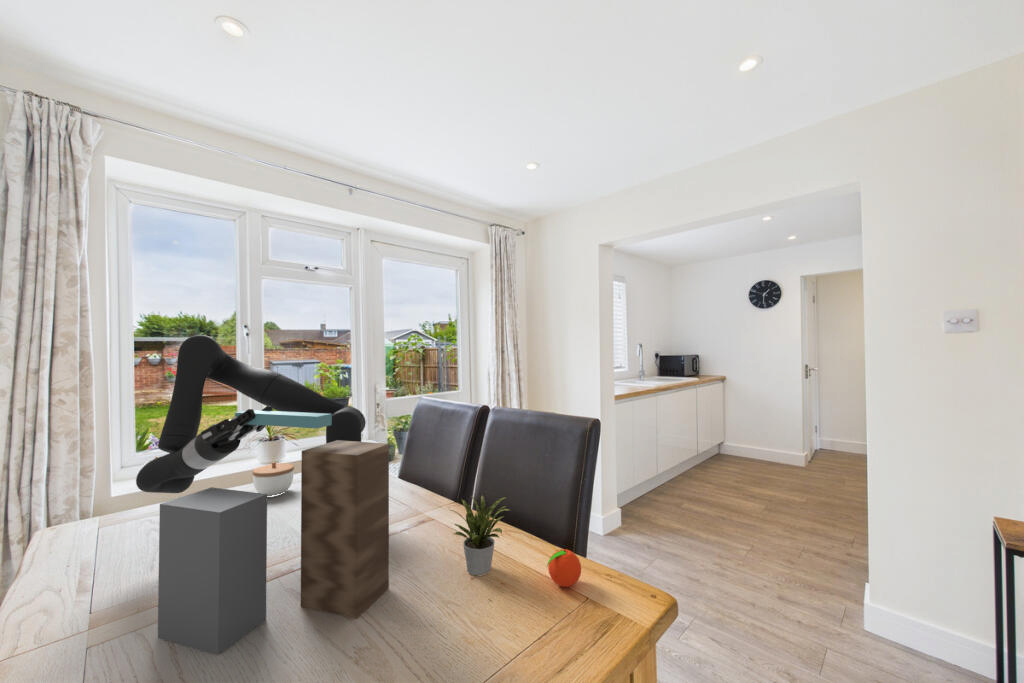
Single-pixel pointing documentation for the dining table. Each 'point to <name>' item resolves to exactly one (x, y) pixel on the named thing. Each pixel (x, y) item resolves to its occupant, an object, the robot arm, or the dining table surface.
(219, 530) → the block
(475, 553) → the house plant
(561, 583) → the clementine
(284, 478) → the lidded bowl
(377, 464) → the stand
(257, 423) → the block
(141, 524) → the dining table surface
